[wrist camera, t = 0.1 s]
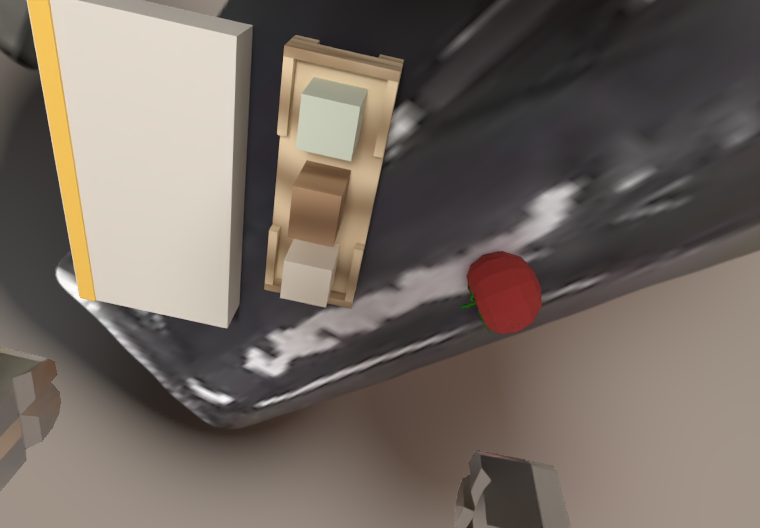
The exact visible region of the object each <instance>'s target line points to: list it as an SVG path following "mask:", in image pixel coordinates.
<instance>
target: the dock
mask: <svg viewBox="0 0 760 528" xmlns="http://www.w3.org/2000/svg"><path fill="white" fill-rule="evenodd" d="M27 5H28V10H29V16H30V21H31V27H32V33H33V38H34V44H35V50H36V55H37V61H38V66H39V72H40V78H41V83H42V89H43V95H44V100H45V106H46V111H47V117H48V122H49V128H50V134H51V140H52V145H53V151H54V157H55V162H56V168H57V173H58V179H59V184H60V190H61V196H62V201H63V207H64V212H65V218H66V224H67V229H68V235H69V241H70V247H71V252H72V258H73V263H74V269H75V275H76V280H77V286H78V292H79V296H80V298H83V299H87V300H92V301H96V300H98V301H103V302H108V303H112V304H117V305H122V306H126V307H131V308H135V309H140V310H145V311H149V312H154V313H158V314H163V315H168V316H172V317H177V318H182V319H186V320H191V321H195V322H200V323H205V324H209V325H214V326H218V327H223V328H228V326H229V324H230V322H231V320H232V318H233V316H234V314H235V312H236V310H237V309H238V307H239V302H240V281H241V261H242V240H243V220H244V199H245V178H246V158H247V137H248V116H249V96H250V75H251V55H252V34H253V25H249V24H244V23H240V22H235V21H231V20H227V19H222V18H218V17H214V16H209V15H205V14H200V13H196V12H191V11H187V10H183V9H179V8H174V7H170V6H165V5H161V4H156V3H152V2H148V1H143V0H27Z"/></svg>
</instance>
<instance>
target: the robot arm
mask: <svg viewBox="0 0 760 528" xmlns="http://www.w3.org/2000/svg"><path fill="white" fill-rule="evenodd" d="M56 376H57V369H56V364H55V361H53V360H51V359H48V358H44V357H40V356H36V355H32V354H28V353H23V352H19V351H15V350H11V349H6V348H3V347H0V491H1V490H2V489H3V488H4V486H5V485H6V484H7V483H8V482H9V481H10V479H11V478H12V477H13V476H14V475H15V473H16V472H17V471H18V470H19V469H20V467H21V466H22V465H23V464H24V463H25V461H26V449H27V448H29V447H31V446H33V445H35V444H37V443H39V442H42V441H43V440H44V438H45V437H46V436H47V435H48V433H49V432H50V430H51V429H52V428H53V426H54V424H55V421H56V419H57V417H58V415H59V411H60V404H61V398H60V392H59V391H58V390H57V388H56V387H55V386H54V385H53V384H52V383H51V381H52V380H53V379H54V378H55V377H56ZM469 469H470V474H469V475H468V476H466V477H464V478H463V479H462V481H461V484H460V487H459V489H458V493H457V498H456V504H455V528H571V525H570V521H569V516H568V512H567V508H566V505H565V500H564V496H563V492H562V489H561V484H560V481H559V477H558V472H557V470H556V469H555V467H554V466H552V465H547V464H543V463H537V462H533V461H526V460H524V459H519V458H514V457H509V456H504V455H499V454H494V453H489V452H484V451H480V450H476V451H475V452H474V453H473V455H472V457H471V460H470V462H469Z"/></svg>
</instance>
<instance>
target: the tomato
mask: <svg viewBox="0 0 760 528" xmlns="http://www.w3.org/2000/svg"><path fill="white" fill-rule="evenodd" d="M467 280H468V290H469V291H470V292H471V293H472V295H471V297H470V300H471V301H472V302H473V303H470V304H467V305H463V306H460V309H463V308H467V307H471V306H474V305H476V304H477V307H478V309H479V315H480V317H481V321H482V318H483V321H484V322H485V324H486V325H485V324H484V323H483V321H482V323H483V324H484V325H485V327H486V326H487V327H488V328H487V327H486V328H487V330H488V329H490V330H492V331H495V332H497V333H499V334H503V333H515V332H518V331H520V330H521V329H523V328H525V327H526V326H528V325H530V324H531V323H533V321H534V319H535V317H536V316H537V314H538V312H539V310H540V308H541V307H542V301H541V288H540V285H539V282H538V280H537V277H536V275H535V273H534V271H533V270H532V268H531V267H530V266H529V265H528V264H527V263H526V262H525V261H524V260H523V259H522V258H521V257H520V256H516V255H513V254H510V253H506V252H503V251H501V252H496V253H491V254H486V255H483V256H482V257H481V258H479V259H478V260H477V261H476V262H474V263H473V264H472V265H471V267H470V269H469V271H468V274H467ZM473 297H474V298H473ZM488 331H489V330H488ZM489 332H490V331H489ZM490 333H491V332H490Z"/></svg>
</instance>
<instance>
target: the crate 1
mask: <svg viewBox="0 0 760 528" xmlns="http://www.w3.org/2000/svg"><path fill="white" fill-rule="evenodd" d="M367 92H368V89H366V88H361V87H357V86H353V85H348V84H344V83H339V82H335V81H331V80H326V79H322V78H317V77H314V78H313V79H312V80H311V82H310V83H309V84H308V86H307V87H306V88H305V90H304V91H303V92H302V94H301V104H300V113H299V123H298V132H297V142H296V149H298V150H302V151H307V152H311V153H316V154H320V155H325V156H329V157H334V158H338V159H342V160H347V161H351V160H352V157H353V155H354V152H355V149H356V147H357V144H358V141H359V137H360V131H361V125H362V120H363V114H364V109H365V103H366V97H367Z"/></svg>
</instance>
